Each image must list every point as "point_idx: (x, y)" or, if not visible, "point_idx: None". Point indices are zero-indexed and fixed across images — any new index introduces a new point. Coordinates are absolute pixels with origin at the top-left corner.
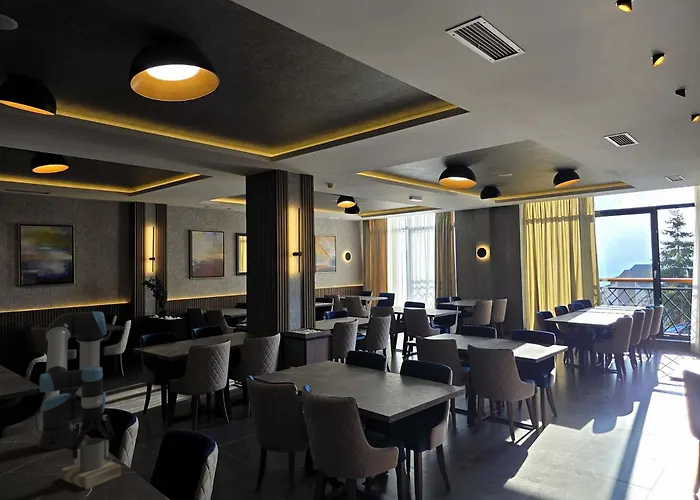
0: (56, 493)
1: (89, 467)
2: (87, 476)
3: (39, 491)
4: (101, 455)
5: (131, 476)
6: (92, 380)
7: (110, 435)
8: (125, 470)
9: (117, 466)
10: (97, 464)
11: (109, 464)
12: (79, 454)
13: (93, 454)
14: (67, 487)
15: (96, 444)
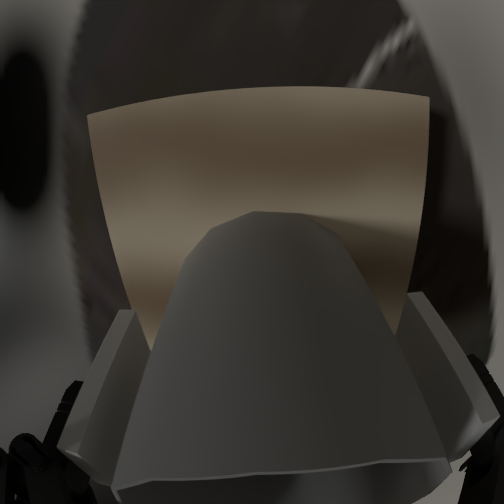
0: (476, 213)
1: (340, 244)
2: (404, 131)
3: (473, 301)
4: (208, 287)
5: (96, 34)
6: None
7: (25, 481)
8: (76, 169)
9: (120, 107)
10: (270, 229)
11: (147, 221)
12: (464, 377)
13: (344, 312)
14: (420, 235)
15: (330, 457)
